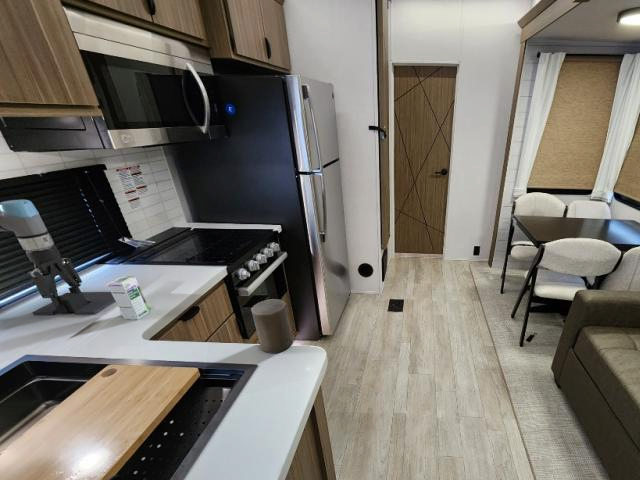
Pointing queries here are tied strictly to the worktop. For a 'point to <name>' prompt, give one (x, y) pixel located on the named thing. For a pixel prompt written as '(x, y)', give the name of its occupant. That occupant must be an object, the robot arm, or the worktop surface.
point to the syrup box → (129, 297)
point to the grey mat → (94, 306)
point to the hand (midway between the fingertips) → (73, 307)
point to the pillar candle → (272, 325)
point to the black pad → (73, 301)
